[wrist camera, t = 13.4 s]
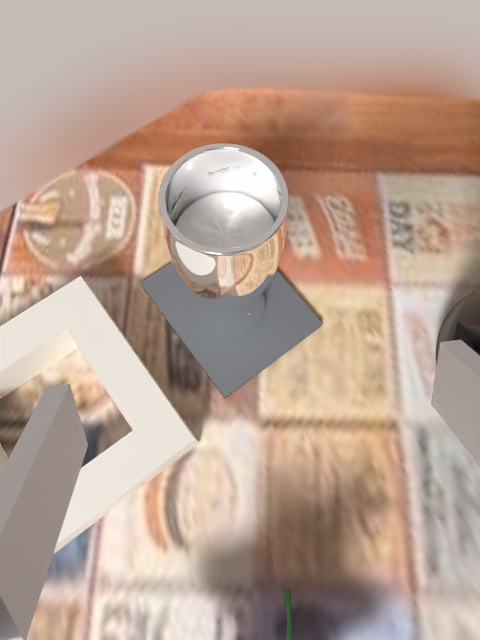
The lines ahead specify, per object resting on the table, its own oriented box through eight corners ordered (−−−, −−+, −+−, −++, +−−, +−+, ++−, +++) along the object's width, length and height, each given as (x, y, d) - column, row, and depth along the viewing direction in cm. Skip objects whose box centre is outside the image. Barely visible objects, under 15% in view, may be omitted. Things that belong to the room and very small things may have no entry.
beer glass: (179, 338, 35) (141, 249, 21) (193, 260, 37) (167, 132, 23) (265, 348, 35) (286, 266, 20) (274, 270, 37) (298, 146, 23)
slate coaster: (234, 224, 39) (234, 221, 38) (321, 325, 36) (322, 323, 35) (141, 285, 37) (139, 283, 36) (224, 398, 34) (224, 397, 33)
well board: (96, 295, 37) (80, 275, 33) (199, 442, 33) (194, 439, 29) (-72, 403, 33) (-110, 395, 30) (21, 579, 30) (-10, 595, 26)
